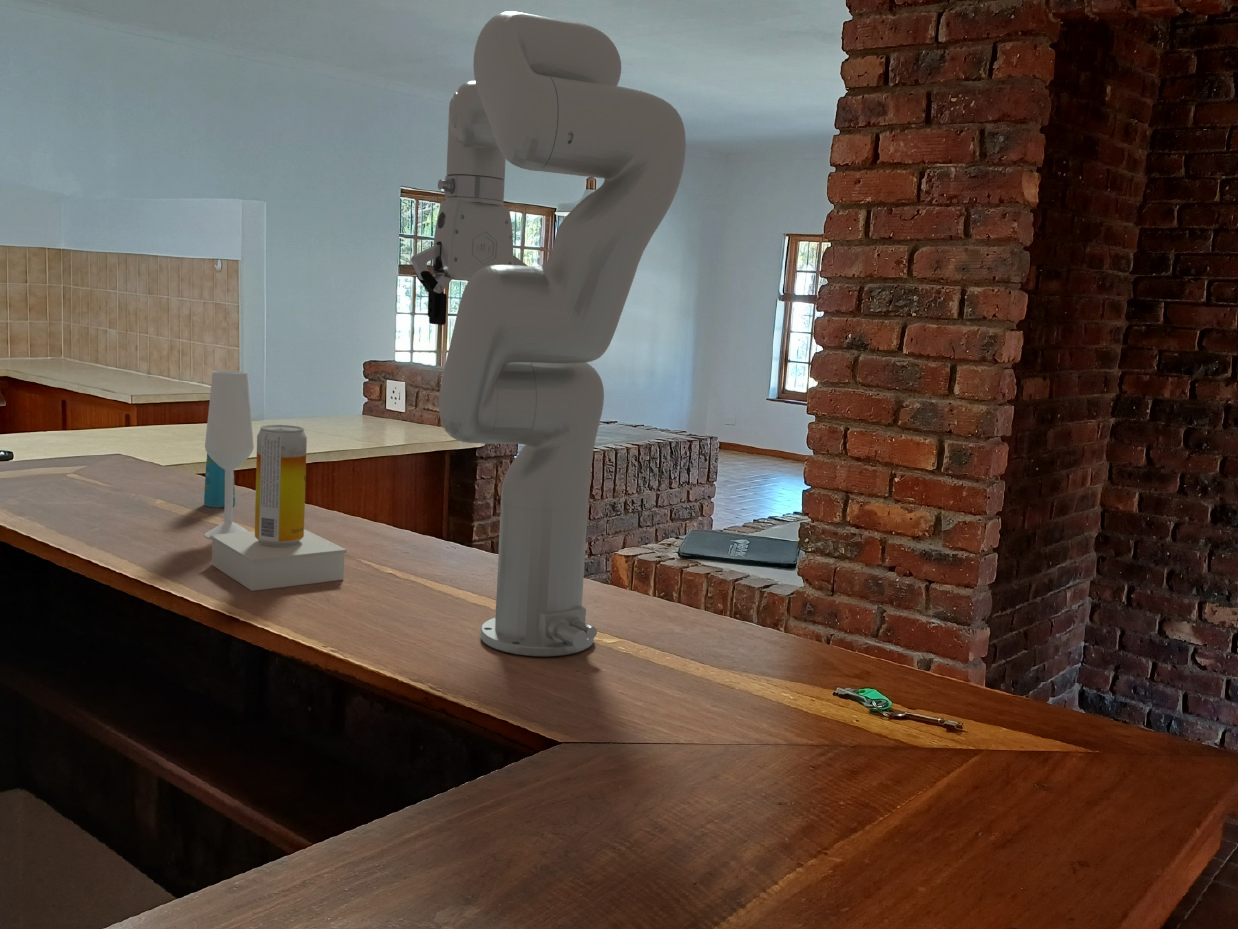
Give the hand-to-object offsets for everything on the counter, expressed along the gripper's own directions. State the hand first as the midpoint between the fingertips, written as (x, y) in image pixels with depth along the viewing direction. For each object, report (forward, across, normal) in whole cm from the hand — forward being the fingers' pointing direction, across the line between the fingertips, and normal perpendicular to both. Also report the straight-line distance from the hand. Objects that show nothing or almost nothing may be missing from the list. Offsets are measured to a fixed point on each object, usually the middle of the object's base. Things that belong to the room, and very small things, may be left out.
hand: (469, 325), depth 144 cm
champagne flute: (+34, -20, +32) cm, 50 cm away
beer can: (+30, -22, +9) cm, 38 cm away
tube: (+34, -14, +53) cm, 64 cm away
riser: (+33, -22, +9) cm, 41 cm away
